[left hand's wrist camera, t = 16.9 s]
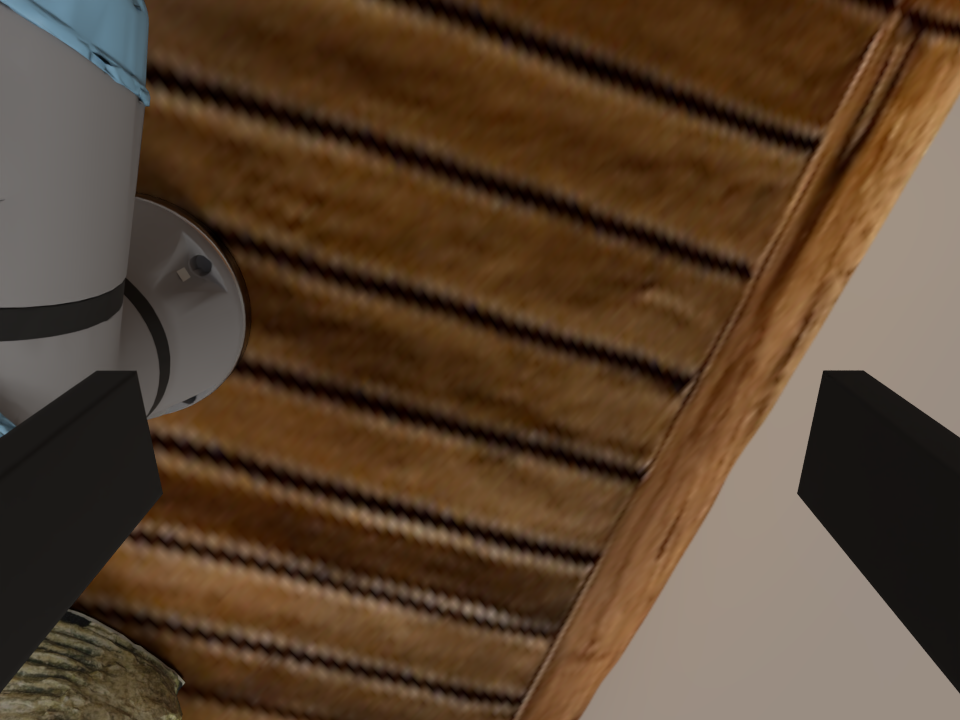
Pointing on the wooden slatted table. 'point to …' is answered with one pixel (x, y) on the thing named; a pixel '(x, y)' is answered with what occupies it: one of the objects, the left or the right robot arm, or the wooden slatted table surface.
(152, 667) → the fossil
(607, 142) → the wooden slatted table surface
